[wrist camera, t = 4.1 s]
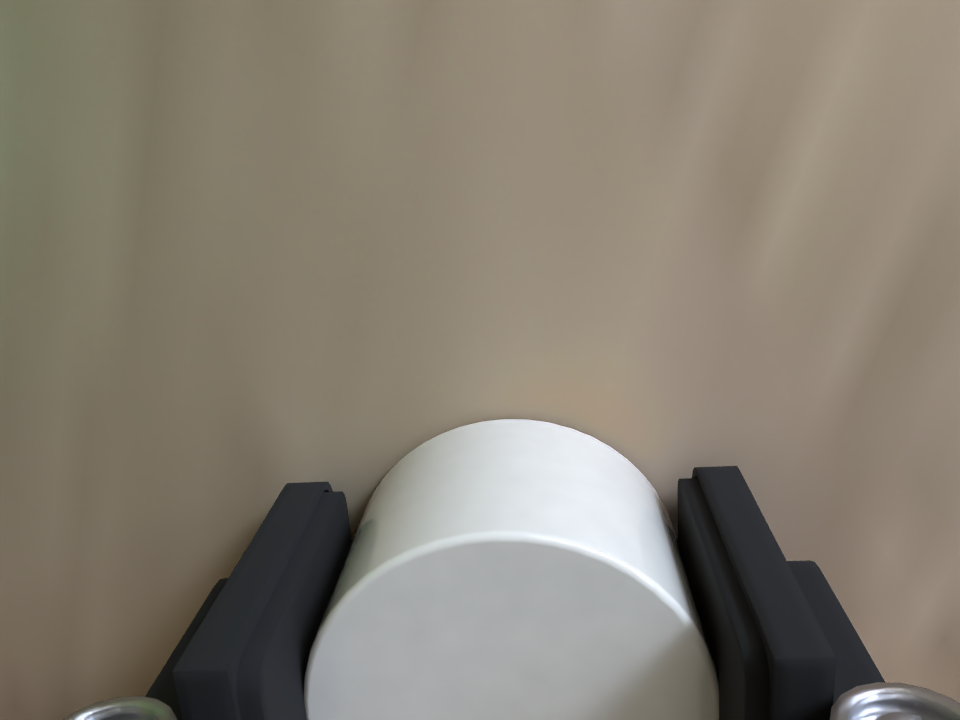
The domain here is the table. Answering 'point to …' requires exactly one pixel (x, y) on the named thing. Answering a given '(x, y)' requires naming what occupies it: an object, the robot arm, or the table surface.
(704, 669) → the white round puck
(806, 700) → the robot arm
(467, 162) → the table surface
